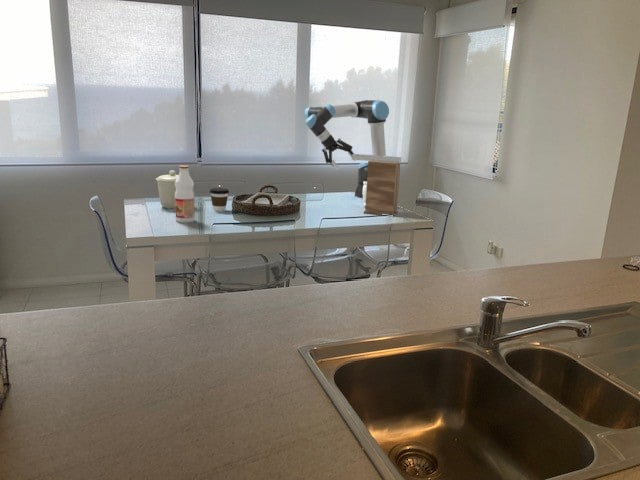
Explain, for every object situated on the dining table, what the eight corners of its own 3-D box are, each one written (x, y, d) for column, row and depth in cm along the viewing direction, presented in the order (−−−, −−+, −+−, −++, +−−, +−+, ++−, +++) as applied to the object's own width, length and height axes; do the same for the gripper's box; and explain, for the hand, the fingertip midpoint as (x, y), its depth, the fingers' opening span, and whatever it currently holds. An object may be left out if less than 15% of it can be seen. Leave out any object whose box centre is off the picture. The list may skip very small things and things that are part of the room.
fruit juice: (193, 223, 266) (192, 167, 259) (174, 222, 265) (172, 166, 258) (195, 219, 275) (194, 165, 268) (177, 218, 274) (175, 164, 268)
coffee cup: (205, 210, 297) (205, 189, 294) (217, 208, 306) (217, 187, 303) (221, 213, 292) (221, 191, 289) (233, 210, 302) (233, 189, 299)
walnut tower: (369, 209, 319) (373, 159, 312) (397, 212, 314) (401, 161, 307) (364, 213, 308) (367, 161, 300) (392, 216, 302) (396, 163, 295)
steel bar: (353, 158, 311) (353, 153, 311) (400, 162, 302) (401, 157, 302) (351, 159, 308) (351, 154, 307) (399, 163, 299) (399, 157, 298)
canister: (194, 205, 311) (193, 169, 306) (183, 211, 294) (182, 173, 289) (164, 203, 313) (162, 167, 308) (151, 209, 296) (150, 171, 290)
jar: (376, 207, 326) (377, 183, 323) (359, 206, 330) (361, 182, 326) (379, 205, 336) (381, 181, 332) (364, 203, 339) (365, 180, 336)
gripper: (308, 150, 322) (330, 176, 329) (339, 131, 306) (361, 159, 314) (312, 143, 327) (333, 169, 335) (342, 125, 312) (364, 152, 319)
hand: (346, 164), depth 324 cm, fingers open, 13 cm apart
